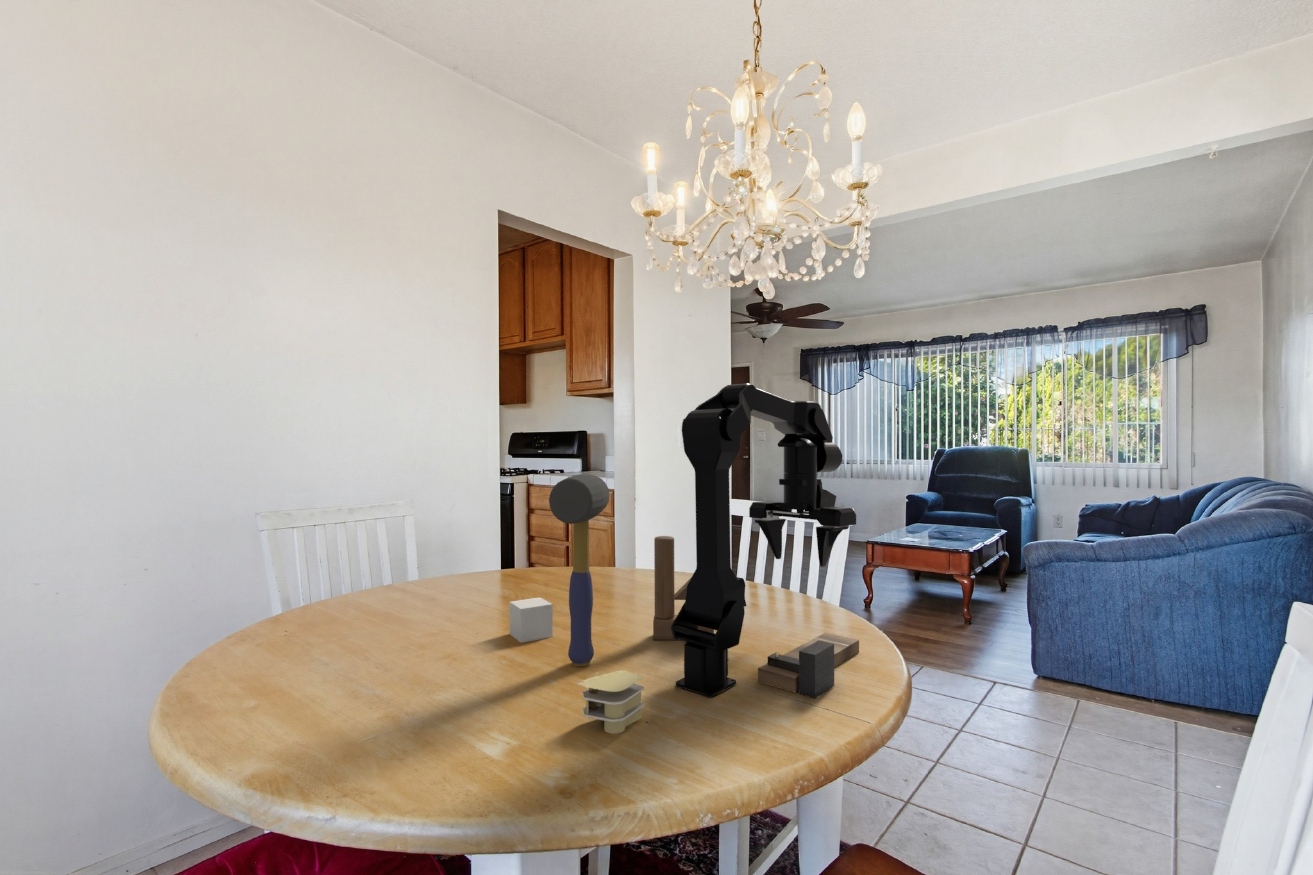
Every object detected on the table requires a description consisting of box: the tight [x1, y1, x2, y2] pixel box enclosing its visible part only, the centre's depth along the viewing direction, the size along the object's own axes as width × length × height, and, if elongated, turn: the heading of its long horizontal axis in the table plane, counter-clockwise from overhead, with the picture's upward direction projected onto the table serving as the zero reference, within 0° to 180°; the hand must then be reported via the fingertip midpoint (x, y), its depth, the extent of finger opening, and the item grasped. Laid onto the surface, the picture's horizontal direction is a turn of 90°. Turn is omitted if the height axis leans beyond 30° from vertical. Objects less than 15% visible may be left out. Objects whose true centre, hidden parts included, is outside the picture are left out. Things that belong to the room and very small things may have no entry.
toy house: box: [582, 669, 645, 735], centre depth 76 cm, size 10×9×6 cm
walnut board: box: [757, 632, 860, 693], centre depth 95 cm, size 22×6×2 cm, turn 139°
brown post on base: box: [652, 535, 715, 641], centre depth 110 cm, size 4×11×18 cm, turn 88°
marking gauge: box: [767, 640, 835, 700], centre depth 88 cm, size 6×9×6 cm
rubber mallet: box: [548, 473, 611, 667], centre depth 96 cm, size 12×8×30 cm, turn 171°
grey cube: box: [509, 597, 554, 643], centre depth 111 cm, size 6×6×6 cm
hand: (800, 562), depth 107 cm, fingers open, 9 cm apart
